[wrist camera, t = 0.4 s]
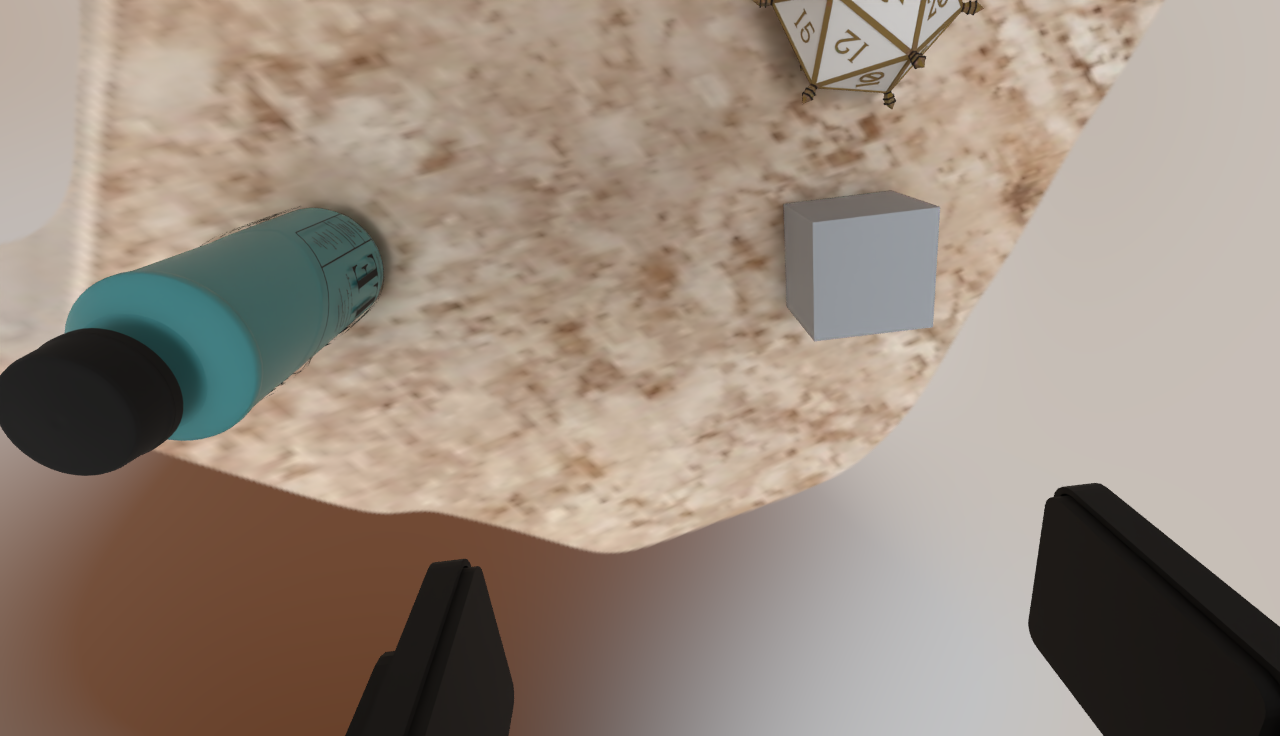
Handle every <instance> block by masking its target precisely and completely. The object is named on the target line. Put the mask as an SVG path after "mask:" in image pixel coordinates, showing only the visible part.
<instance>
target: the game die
mask: <svg viewBox="0 0 1280 736" xmlns="http://www.w3.org/2000/svg"><path fill="white" fill-rule="evenodd" d="M753 1H754V2H755V3H756V4H757V5H759V6H760V8H761V6H765V8H766V6H769V5H772V6H773V8H774V10H775V12H776V15H777V17H778V19H779V21H780V23H781V25H782V27H783V29H784V31H785V33H786V35H787V37H788V39H789V42H790V44H791V46H792V48H793V50H794V52H795V54H796V56H797V58H798V60H799V62H800V70H803V71H804V73H805V75H806V77H807V79H808V81H809V83H810V86H809V87H808V88H807V87H806V89H805V92H803V93H802V96H803V98H802V104H804V103H806V102H808V101H810V100H813V96H815V95H816V94H815V91H816V89H817V88H819V89H834V90H848V91H863V92H878V93H884V98H883V100H884V102H885V103H884V105H887V106H888V107H889V108H891V109H893V106H894V103H895V102H896V100H895V98H894V97H895V96H894V94H892V92H891V90H892V89H893V88H894V87H895V86H896V85H897V84H898V82H899V81H900V80H901V79H902V78H903V77H904V76H905V75H906V73H907V72H908V71H909V70H910V69H911V68H912V67H913V66H914V68H915V69H916V68H923V67H924V65H925V59H926V56H923V54H924V53H925V52H926V51H927V50H928V49H929V47H930V46H931V45H932V44H933V43H934V42H935V41H936V40H937V38H938V37H939V36H940V35H941V34H942V33H943V32H944V31H945V29H946V28H947V27H948V26H949V25H950V24H951V23H952V21H953V20H954V19H955V18H956V17H957V16H958V15H959V14H960V12H965V13H966V14H967V15H968V14H972V15H974V14H975V13H977V12H978V11H980V10H982V9H984V8H983V7H982V6H981V5H980V4H979V3H978V2H977V0H976V1H975V2H971V0H970V1H969V2H967V3H963V2H962V0H753Z"/></svg>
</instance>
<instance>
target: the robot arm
mask: <svg viewBox="0 0 1280 736" xmlns="http://www.w3.org/2000/svg"><path fill="white" fill-rule="evenodd" d="M1028 626H1029V631H1030V635H1031V638H1032V640H1033V642H1034V644H1035V645H1036V647H1037V648H1038V650H1039V651H1040V652H1041V654H1042V655H1043V656H1044V657H1045V659H1046V660H1047V661H1048V663H1049V664H1050V665H1051V667H1052V668H1053V669H1054V671H1055V672H1056V673H1057V674H1058V676H1059V677H1060V679H1061V680H1062V681H1063V683H1064V684H1065V685H1066V687H1067V688H1068V689H1069V691H1070V692H1071V693H1072V695H1073V696H1074V697H1075V698H1076V700H1077V701H1078V702H1079V704H1080V705H1081V706H1082V708H1083V709H1084V710H1085V712H1086V713H1087V714H1088V716H1089V717H1090V718H1091V720H1092V721H1093V722H1094V724H1095V725H1096V726H1097V728H1098V729H1099V730H1100V732H1101V733H1102V734H1103V736H1280V627H1279V626H1278V625H1277V624H1276V623H1274V622H1273V621H1272V620H1270V619H1269V618H1268V617H1267V616H1266V615H1264V614H1263V613H1262V612H1261V611H1259V610H1258V609H1257V608H1256V607H1255V606H1253V605H1252V604H1251V603H1250V602H1248V601H1247V600H1246V599H1244V598H1243V597H1242V596H1241V595H1240V594H1238V593H1237V592H1236V591H1235V590H1233V589H1232V588H1231V587H1230V586H1228V585H1227V584H1226V583H1224V582H1223V581H1222V580H1221V579H1220V578H1219V577H1217V576H1216V575H1215V574H1213V573H1212V572H1211V571H1210V570H1209V569H1207V568H1206V567H1205V566H1204V565H1202V564H1201V563H1200V562H1199V561H1197V560H1196V559H1195V558H1194V557H1192V556H1191V555H1190V554H1188V553H1187V552H1186V551H1185V550H1184V549H1183V548H1181V547H1180V546H1179V545H1178V544H1176V543H1175V542H1174V541H1173V540H1171V539H1170V538H1169V537H1168V536H1166V535H1165V534H1164V533H1163V532H1161V531H1160V530H1159V529H1158V528H1156V527H1155V526H1154V525H1152V524H1151V523H1150V522H1149V521H1148V520H1146V519H1145V518H1144V517H1143V516H1141V515H1140V514H1139V513H1138V512H1136V511H1135V510H1134V509H1133V508H1132V507H1130V506H1129V505H1128V504H1127V503H1125V502H1124V501H1123V500H1122V499H1120V498H1119V497H1118V496H1117V495H1115V494H1114V493H1113V492H1112V491H1110V490H1109V489H1108V488H1107V487H1105V486H1103V485H1102V484H1098V483H1091V484H1083V485H1075V486H1067V487H1061V488H1058V489H1057V491H1056V492H1055V495H1054V497H1052V498H1049V499H1048V500H1047V501H1046V504H1045V509H1044V517H1043V523H1042V530H1041V537H1040V544H1039V551H1038V558H1037V565H1036V572H1035V579H1034V586H1033V593H1032V600H1031V607H1030V614H1029V622H1028ZM513 705H514V688H513V682H512V678H511V674H510V670H509V667H508V663H507V660H506V656H505V652H504V649H503V645H502V641H501V638H500V634H499V630H498V627H497V623H496V619H495V616H494V612H493V608H492V605H491V601H490V598H489V594H488V590H487V586H486V583H485V579H484V576H483V572H482V569H481V568H480V567H479V566H476V567H471V565H470V562H469V561H468V560H467V559H459V560H451V561H443V562H435V563H432V564H431V565H430V567H429V568H428V570H427V573H426V575H425V578H424V580H423V583H422V585H421V588H420V590H419V593H418V595H417V598H416V600H415V603H414V605H413V608H412V610H411V613H410V615H409V618H408V621H407V623H406V625H405V628H404V630H403V633H402V635H401V638H400V640H399V643H398V645H397V648H396V650H395V651H391V652H385V653H384V654H383V655H382V656H381V657H380V658H379V660H378V662H377V663H376V665H375V667H374V669H373V672H372V674H371V677H370V679H369V681H368V684H367V686H366V689H365V691H364V693H363V696H362V698H361V700H360V702H359V705H358V707H357V709H356V712H355V714H354V717H353V719H352V721H351V723H350V726H349V728H348V731H347V733H346V735H345V736H508V735H509V729H510V723H511V717H512V712H513Z"/></svg>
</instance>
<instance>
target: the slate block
mask: <svg viewBox="0 0 1280 736" xmlns="http://www.w3.org/2000/svg"><path fill="white" fill-rule="evenodd" d="M939 217H940V207H939V206H936V205H933V204H930V203H927V202H924V201H921V200H918V199H915V198H912V197H909V196H906V195H903V194H900V193H897V192H894V191H884V192H875V193H867V194H859V195H851V196H843V197H835V198H827V199H819V200H810V201H802V202H794V203H786V204H784V236H785V268H786V301H787V308H788V309H789V310H790V311H791V313H792V314H793V315H794V316H795V318H796V319H797V320H798V321H799V323H800V324H801V325H802V326H803V328H804V329H805V330H806V331H807V333H808V334H809V335H810V336H811V338H812V339H813V340H814V341H820V340H829V339H837V338H846V337H854V336H863V335H871V334H879V333H888V332H896V331H905V330H913V329H921V328H930V327H933V316H934V300H935V283H936V266H937V250H938V233H939Z"/></svg>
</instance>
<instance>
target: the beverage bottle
mask: <svg viewBox="0 0 1280 736" xmlns="http://www.w3.org/2000/svg"><path fill="white" fill-rule="evenodd" d="M300 207H301V206H300ZM288 210H289V209H288ZM292 210H293V209H292ZM289 211H290V210H289ZM286 212H287V211H286ZM280 213H281V212H280ZM281 214H282V213H281ZM274 215H275V216H276V214H274ZM278 215H279V214H278ZM272 217H273V215H272ZM272 217H271V216H270V218H272ZM266 218H267V217H266ZM261 220H263V221H265V218H263V219H260V221H261ZM267 220H268V221H265V222H263V223H261V222H260V221H259V222H260V224H257V225H255V226H252V225H251V226H252V227H251V226H250V225H248V224H247V225H248V227H249V226H250V227H249V228H247V229H244V230H241V231H239V232H236V233H233V234H231V235H228V236H226V237H223V238H221V239H219V240H216V241H214V242H212V243H209V244H207V245H204V246H200V247H198V248H195V249H193V250H190V251H187V252H184V253H181V254H179V255H176V256H173V257H170V258H167V259H165V260H162V261H159V262H156V263H153V264H151V265H148V266H145V267H142V268H139V269H137V270H134V271H130V272H124V273H119V274H116V275H113V276H110V277H107V278H105V279H103V280H101V281H98V282H96V283H95V284H93V285H92V286H91V287H89V288H88V289H87V290H86V291H85V292H83V293H82V294H81V295H80V297H79V298H78V299H77V301H76V302H75V303H74V305H73V306H72V308H71V310H70V313H69V315H68V318H67V321H66V325H65V334H62V335H60V336H58V337H56V338H54V339H52V340H50V341H48V342H46V343H45V344H43V345H42V346H41V347H39V348H38V349H37V350H35V351H33V352H31V353H29V354H27V355H26V356H24V357H22V358H20V359H18V360H16V361H15V362H13V363H12V364H11V365H10V366H9V367H8V368H7V369H6V370H5V371H4V372H3V373H2V374H1V375H0V426H1V427H2V430H3V431H4V432H5V434H6V435H7V437H8V438H9V439H10V440H11V441H12V443H13V444H14V445H15V446H16V447H18V448H19V449H20V450H21V451H22V452H23V453H24V454H26V455H27V456H29V457H30V458H32V459H33V460H34V461H36V462H38V463H40V464H42V465H44V466H46V467H48V468H50V469H53V470H56V471H59V472H63V473H67V474H73V475H82V476H88V475H99V474H104V473H108V472H111V471H114V470H116V469H119V468H121V467H122V466H124V465H126V464H127V463H129V462H131V461H132V460H134V459H135V458H137V457H139V456H140V455H143V454H145V453H147V452H149V451H151V450H153V449H155V448H156V447H158V446H159V445H161V444H162V443H163V442H164V441H166V440H167V439H168V440H180V441H185V440H198V439H204V438H207V437H211V436H215V435H217V434H220V433H222V432H225V431H226V430H228V429H230V428H231V427H233V426H234V425H235V424H237V423H238V422H239V421H240V420H242V419H243V418H244V417H245V416H246V415H247V413H248V412H249V411H250V410H251V409H252V407H253V406H255V405H256V404H257V403H258V402H259V401H260V400H261V399H263V398H264V397H265V396H266V395H267V394H269V393H270V392H272V391H273V390H274V388H275V387H276V386H279V384H281V385H283V384H284V383H283V381H285V380H286V379H288V377H289V376H290V375H292V374H296V373H294V372H295V371H296V370H298V369H299V368H300V367H301V366H302V365H303V364H305V363H306V362H307V361H308V360H311V357H313V356H314V355H315V354H316V353H317V352H318V351H320V350H321V349H322V348H323V347H324V346H326V345H329V344H328V343H329V342H330V341H331V340H332V339H333V338H335V337H336V336H337V335H338V334H340V333H341V332H344V330H346V329H347V328H348V327H347V326H348V325H351V323H352V322H353V321H354V320H355V319H356V318H358V317H359V316H360V315H361V314H362V313H363V312H364V311H366V310H367V309H368V308H369V307H370V306H371V305H373V303H374V301H375V300H376V298H377V297H378V295H379V293H380V289H381V285H382V280H383V272H384V269H383V263H382V259H381V255H380V253H379V250H378V248H377V246H376V244H375V242H374V241H373V239H372V238H371V236H370V235H369V234H368V233H367V232H366V231H365V230H364V229H363V228H362V227H361V226H360V225H359V224H358V223H356V222H355V221H354V220H352V219H351V218H349V217H348V216H346V215H344V214H343V215H342V214H340V213H337V212H334V211H331V210H327V209H322V208H305V209H299V210H296V211H292V212H290V213H287V214H284V215H282V216H279V217H276V218H275V217H274V218H273V219H271V220H269V219H268V218H267ZM255 222H256V221H255ZM257 222H258V221H257ZM257 222H256V223H257ZM249 224H250V223H249ZM253 224H255V223H253ZM242 227H244V226H242ZM242 227H241V228H242ZM238 228H240V227H238ZM238 228H237V229H238ZM241 228H240V229H241ZM245 228H246V227H245ZM235 229H236V228H235ZM233 230H234V229H233ZM238 230H239V229H238ZM228 234H229V233H228ZM220 235H221V234H220ZM222 236H223V235H222ZM214 238H215V237H214ZM212 239H213V238H212ZM207 242H208V241H207ZM204 244H205V243H204ZM383 283H384V280H383ZM382 288H383V287H382ZM381 292H382V291H381ZM380 295H381V294H380ZM379 297H380V296H379ZM375 303H377V302H376V301H375ZM375 303H374V304H375ZM373 306H375V305H373ZM370 308H371V307H370ZM371 309H372V308H371ZM371 309H370V310H371ZM368 311H369V310H368ZM368 311H367V312H368ZM367 312H366V313H367ZM366 313H365V314H366ZM365 314H364V315H363V316H365ZM363 316H362V317H363ZM362 317H361V318H362ZM361 318H360V319H361ZM360 319H359V320H360ZM359 320H358V321H359ZM358 321H356V323H357V322H358ZM356 323H355V322H354V324H356ZM352 324H353V323H352ZM346 327H347V328H346ZM349 327H350V326H349ZM350 328H351V327H350ZM350 328H349V329H350ZM349 329H348V330H349ZM348 330H347V331H348ZM347 331H346V332H347ZM346 332H345V333H346ZM330 344H331V343H330ZM307 363H308V362H307ZM307 363H306V364H307ZM309 363H310V361H309ZM307 366H308V365H307ZM303 368H304V367H303ZM300 372H301V371H300ZM275 389H276V388H275ZM271 395H272V394H271ZM269 396H270V395H269Z"/></svg>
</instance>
